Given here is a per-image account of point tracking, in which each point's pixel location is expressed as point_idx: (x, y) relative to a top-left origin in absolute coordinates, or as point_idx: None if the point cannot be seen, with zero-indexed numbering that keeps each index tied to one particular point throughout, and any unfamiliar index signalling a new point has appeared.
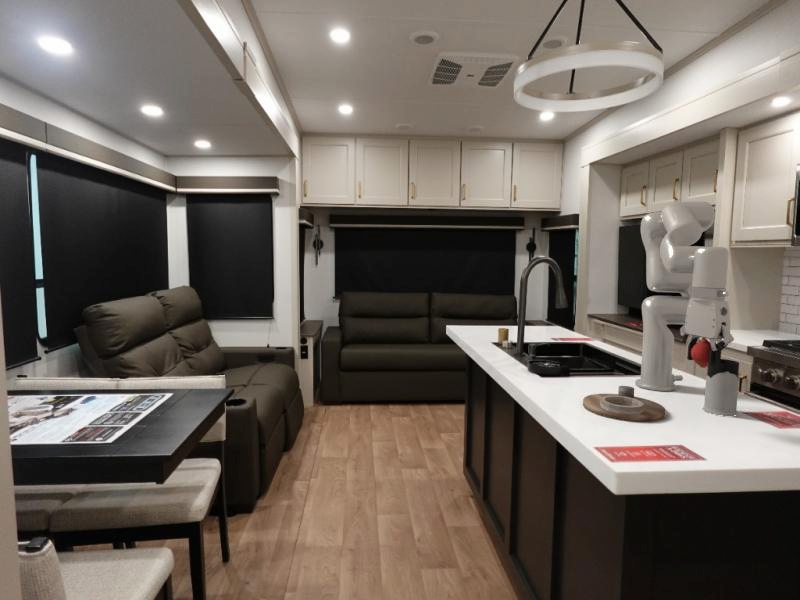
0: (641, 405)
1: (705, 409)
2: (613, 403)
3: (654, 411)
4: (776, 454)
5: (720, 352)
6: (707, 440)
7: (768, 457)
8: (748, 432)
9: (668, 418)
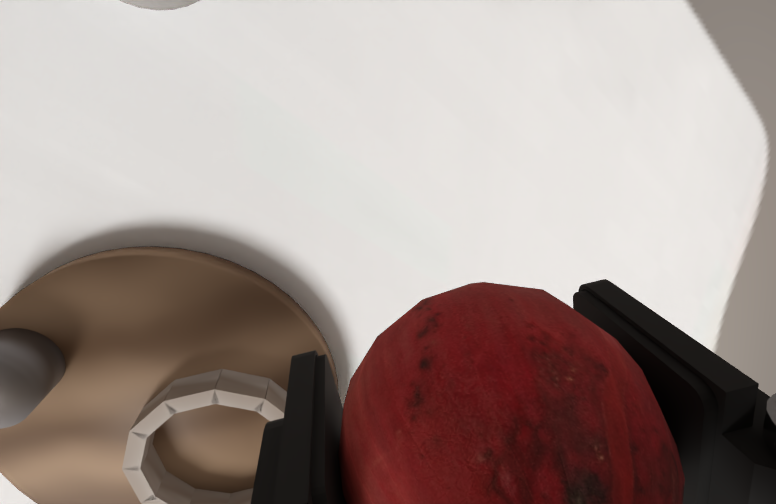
0: (281, 414)
1: (146, 2)
2: (159, 448)
3: (267, 336)
4: (691, 112)
5: (761, 403)
6: (535, 270)
7: (700, 165)
8: (480, 24)
9: (289, 276)
